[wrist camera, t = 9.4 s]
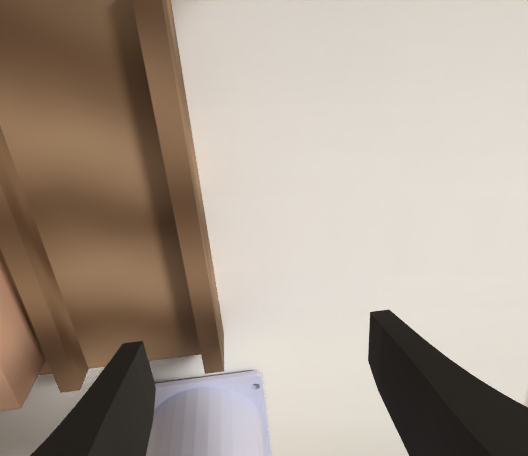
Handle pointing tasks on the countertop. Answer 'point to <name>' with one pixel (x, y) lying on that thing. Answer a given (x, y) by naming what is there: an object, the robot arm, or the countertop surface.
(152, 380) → the robot arm
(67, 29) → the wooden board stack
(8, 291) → the clay strip
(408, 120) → the countertop surface
